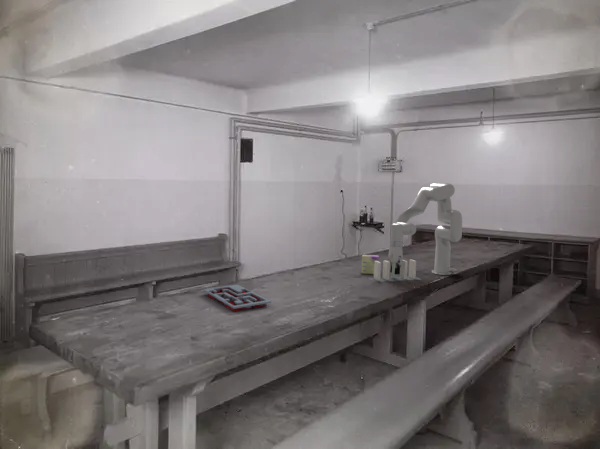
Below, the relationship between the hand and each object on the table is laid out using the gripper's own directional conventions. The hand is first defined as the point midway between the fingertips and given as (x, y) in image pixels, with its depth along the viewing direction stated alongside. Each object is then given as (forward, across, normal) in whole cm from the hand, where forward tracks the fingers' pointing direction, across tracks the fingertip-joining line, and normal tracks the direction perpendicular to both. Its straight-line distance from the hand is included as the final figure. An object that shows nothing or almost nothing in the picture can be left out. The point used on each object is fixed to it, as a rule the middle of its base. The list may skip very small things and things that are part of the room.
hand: (394, 272), depth 281 cm
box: (+4, -18, -8) cm, 20 cm away
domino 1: (+4, 0, -12) cm, 13 cm away
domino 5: (+4, 0, +12) cm, 12 cm away
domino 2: (+4, 0, -6) cm, 7 cm away
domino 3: (+3, 0, 0) cm, 3 cm away
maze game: (+5, +23, -101) cm, 104 cm away
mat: (+4, 0, 0) cm, 4 cm away
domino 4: (+4, 0, +6) cm, 7 cm away
